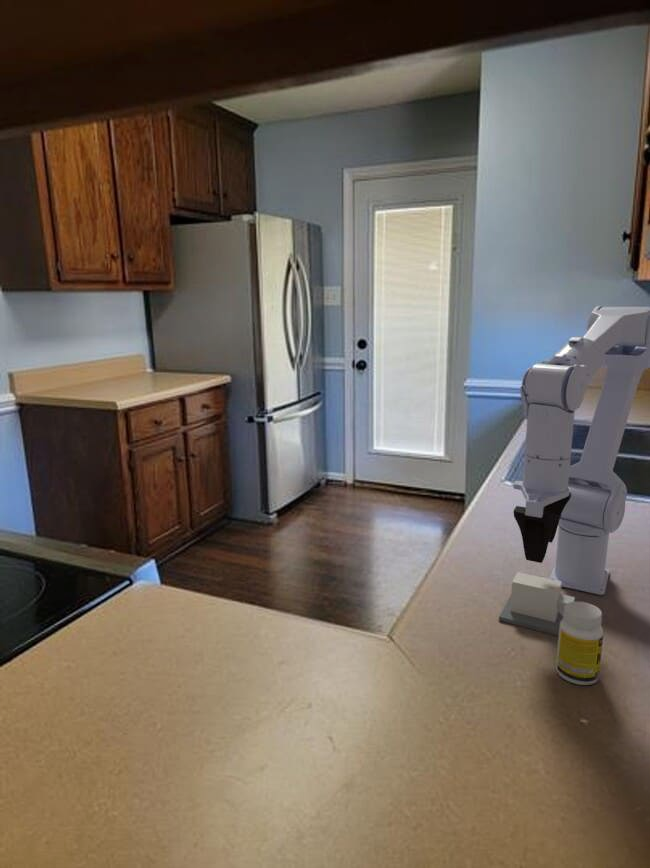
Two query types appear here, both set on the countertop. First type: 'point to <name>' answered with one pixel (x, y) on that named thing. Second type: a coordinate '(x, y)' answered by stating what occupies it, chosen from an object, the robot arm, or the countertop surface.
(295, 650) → the countertop surface
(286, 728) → the countertop surface
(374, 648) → the countertop surface
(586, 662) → the supplement bottle
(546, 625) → the coaster
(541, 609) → the block
